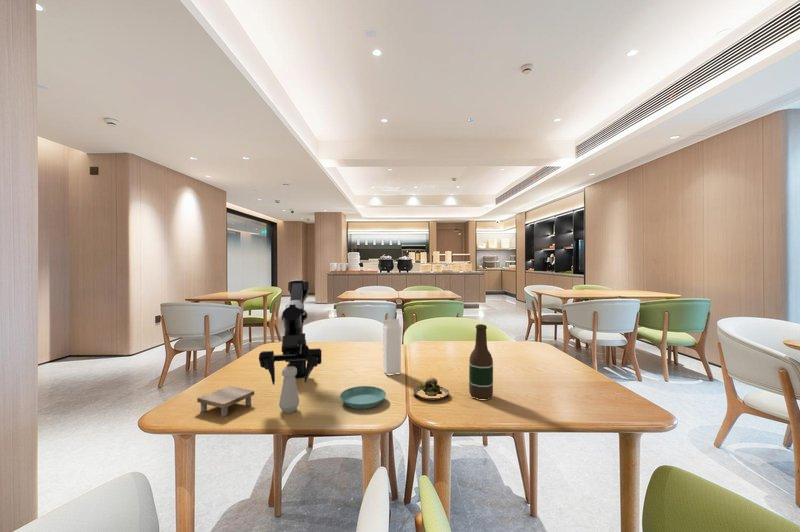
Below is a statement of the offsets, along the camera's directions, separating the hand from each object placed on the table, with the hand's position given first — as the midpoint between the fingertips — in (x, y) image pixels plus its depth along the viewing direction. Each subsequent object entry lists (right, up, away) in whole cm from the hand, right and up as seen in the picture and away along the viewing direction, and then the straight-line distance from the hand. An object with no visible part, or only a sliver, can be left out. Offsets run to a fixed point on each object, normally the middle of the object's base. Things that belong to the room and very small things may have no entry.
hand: (289, 382), depth 101 cm
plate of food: (+44, -9, +12) cm, 46 cm away
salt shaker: (0, -8, 0) cm, 8 cm away
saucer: (+21, -9, +7) cm, 24 cm away
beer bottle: (+61, -9, +11) cm, 62 cm away
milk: (+30, -9, +35) cm, 47 cm away
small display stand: (-20, -8, +2) cm, 21 cm away
